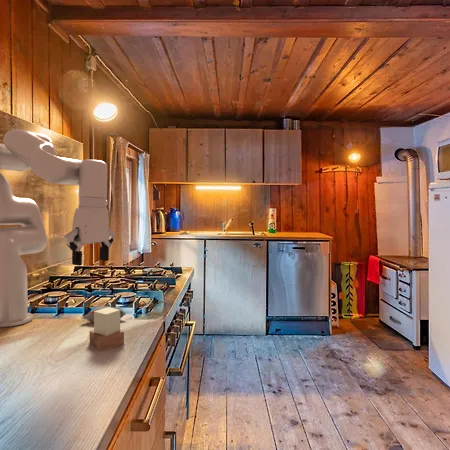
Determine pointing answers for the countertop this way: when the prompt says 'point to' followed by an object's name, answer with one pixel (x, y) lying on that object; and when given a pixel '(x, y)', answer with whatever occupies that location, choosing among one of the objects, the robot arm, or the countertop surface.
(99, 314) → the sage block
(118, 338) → the walnut base
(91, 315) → the packaged food
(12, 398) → the countertop surface
